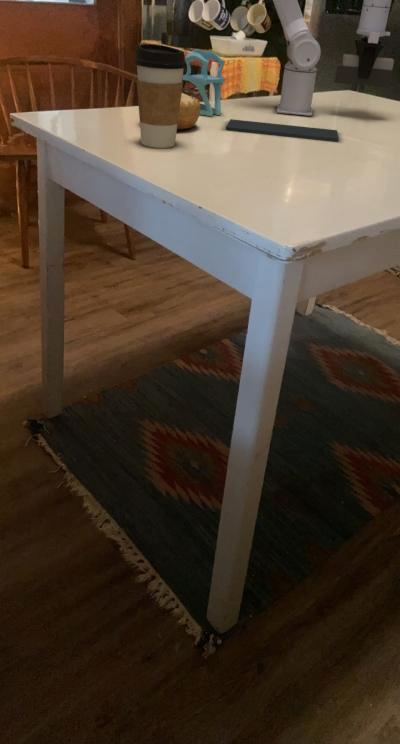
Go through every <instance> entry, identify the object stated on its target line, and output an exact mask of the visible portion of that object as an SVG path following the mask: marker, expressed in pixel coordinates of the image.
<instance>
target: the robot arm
mask: <svg viewBox="0 0 400 744" xmlns="http://www.w3.org/2000/svg"><path fill="white" fill-rule="evenodd" d="M272 2H273V5H274V8H275V10H276V13H277V16H278V19H279V21H280V24H281V26H282V29H283V34H284V38H285V40H286V55H287V58H288V61H287V63H286V64H284V69H283V75H282V76H283V77H282V84H281V92H280V99H279V103H278V104H277V108H276V113H278V114H286V115H296V116H297V115H298V116H305V117H306V116H307V117H312V116H313V107H312V104H313V96H314V91H315V85H316V78H317V71H318V68H317V67H315V66H316V65H317V64H318V63H319V61H320V58H321V53H322V50H321V46H320V43H319V42H318V41H317V40H316V39H315V38H314V37H313V36H312V34H311V32H310V29H309V26H308V24H307V23H306V21H305V18H304V15H303V12H302V10H301V7H300V5H299V1H298V0H272ZM391 6H392V0H363V2H362V8H361V11H360V18H359V23H358V28H357V29H356V34H358V35H361V38H362V39H354V44H355V50H356V55H359V68H358V78H361V79H368V78H369V76H370V73H371V71H372V68H373V65H374V63H375V61H376V58H377V57H379V54H380V53H381V52H382V50H383V49H384V48H385V45H384V44H381V43H382V41H381V40H380V37H386V36H387V37H390V36H391V32H390V31H386V28H387V23H388V19H389V14H390V10H391Z"/></svg>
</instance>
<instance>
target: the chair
mask: <svg viewBox="0 0 400 744" xmlns="http://www.w3.org/2000/svg"><path fill="white" fill-rule="evenodd" d="M184 57H185V62H186V64H185V65H186V73H185V74H183V77H182V81H185V82H189V83H191V84H193V85H194V86H195V87H196V88H197V90H198V92H199V94H200V96H201V98H202V100H203V103H200V114H199V116H200V115H201V116H206V117H214V115H216V116H221V114H222V113H221V112H222V111H221V101H222V100H221V97H222V95H221V94H222V86H223V84H224V83H226V77H223V75H222V72H223V71H222V70H223V68H224V65H225V62H226V60H225V59H222V58H221V57H220V56H219V55H218V54H216V53H214V52H213V51H205V50H202V49H199V48H198V49H194V50H192V51H190V52H188V53H187V54H186V55H185V56H184ZM210 60H214V61H216V62H218V64H219V67H218V69H217V76H213V75H210V74H208V72H209V71H208V70H209V65H210ZM194 61H198V62H200V64H201V69H200V73H197V74H196V73H195V74H191V73H192V68H191V64H190V63H191V62H194ZM211 84H212V86H213V89H214V107H212V105H211V103H210V100H209V97H208V95H207V91H206V86H207V85H211Z"/></svg>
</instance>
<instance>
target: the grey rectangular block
mask: <svg viewBox="0 0 400 744" xmlns="http://www.w3.org/2000/svg"><path fill="white" fill-rule="evenodd" d="M394 63H395V59H394V58H391V57H381V56H378V57H377V58H376V61H375V63H374V65H373V68H372V71H371V73H370V76H369V78H368V79H361V78H358V68H359V55H357V54H349V53H343V54H342V60H341V63H339V62H336V66H335V71H334V76H333V82H334V84H344V85H355V86H363V87H375V88H386V89H389V88H390V85H391V80H392V76H393V68H394Z"/></svg>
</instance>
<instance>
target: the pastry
mask: <svg viewBox="0 0 400 744" xmlns="http://www.w3.org/2000/svg"><path fill="white" fill-rule="evenodd" d="M200 104H201V102H200V100H199V98H197V97H196V96H192V97H191V95H188V94H186V93H183V92H182V95H181V102H180V109H179V117H178V123H177V130H184V129H190V128H193V127H194V126H195V125H196V124H197V122H198V120H199V117H200V109H201V108H200Z"/></svg>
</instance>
